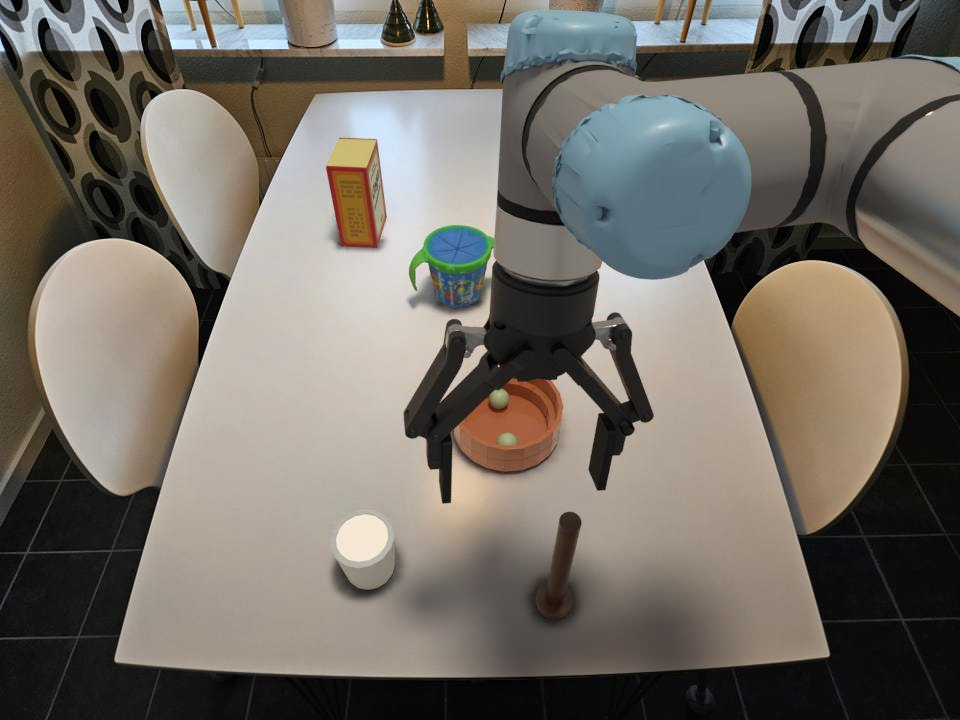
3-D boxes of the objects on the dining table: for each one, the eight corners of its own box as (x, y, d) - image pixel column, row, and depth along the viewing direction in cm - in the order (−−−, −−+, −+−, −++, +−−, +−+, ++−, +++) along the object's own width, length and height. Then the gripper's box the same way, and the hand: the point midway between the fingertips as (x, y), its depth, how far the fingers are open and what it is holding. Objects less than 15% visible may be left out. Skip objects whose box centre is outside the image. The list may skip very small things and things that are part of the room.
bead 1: (502, 415, 88) (503, 403, 86) (484, 407, 89) (485, 394, 87) (512, 402, 90) (513, 389, 88) (495, 394, 91) (495, 381, 89)
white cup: (375, 527, 77) (367, 497, 72) (412, 566, 74) (407, 537, 69) (328, 565, 74) (316, 536, 69) (365, 608, 71) (355, 580, 66)
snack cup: (496, 267, 111) (498, 217, 103) (513, 308, 104) (515, 257, 96) (406, 281, 108) (401, 231, 101) (417, 323, 101) (412, 273, 94)
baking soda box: (352, 215, 121) (338, 135, 109) (386, 216, 121) (376, 137, 109) (341, 246, 115) (325, 165, 103) (377, 247, 114) (365, 166, 103)
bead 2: (511, 462, 83) (511, 449, 81) (492, 453, 84) (492, 440, 82) (521, 446, 85) (522, 434, 83) (502, 437, 86) (503, 425, 84)
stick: (562, 626, 70) (581, 549, 56) (529, 608, 71) (540, 528, 58) (577, 595, 72) (599, 514, 59) (545, 577, 73) (560, 494, 60)
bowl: (528, 491, 81) (530, 467, 77) (433, 444, 86) (431, 419, 82) (576, 414, 89) (580, 388, 85) (487, 375, 94) (487, 349, 90)
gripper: (691, 238, 50) (641, 447, 61) (364, 245, 46) (377, 466, 58) (738, 282, 44) (673, 505, 55) (364, 294, 40) (379, 531, 52)
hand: (522, 486), depth 57 cm, fingers open, 13 cm apart
